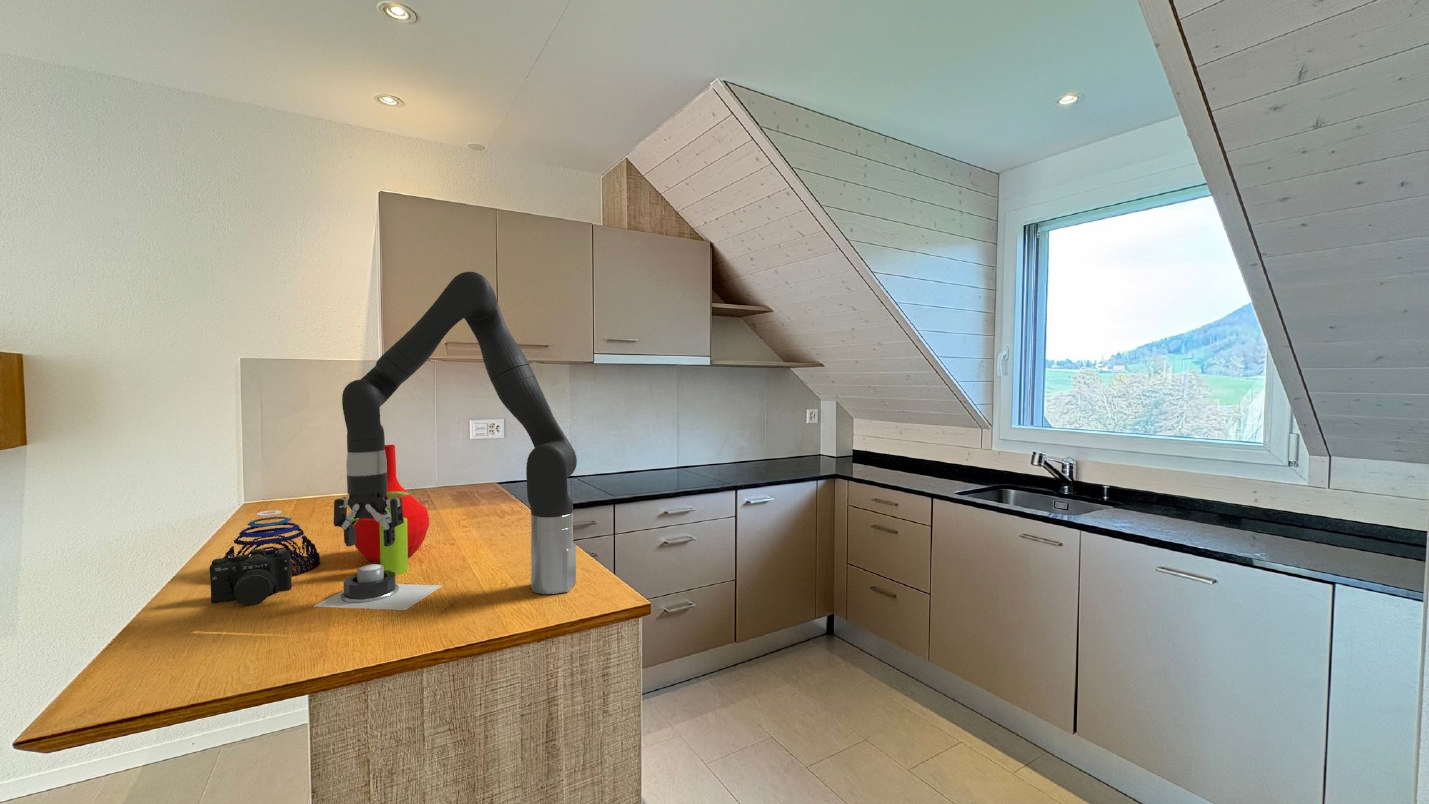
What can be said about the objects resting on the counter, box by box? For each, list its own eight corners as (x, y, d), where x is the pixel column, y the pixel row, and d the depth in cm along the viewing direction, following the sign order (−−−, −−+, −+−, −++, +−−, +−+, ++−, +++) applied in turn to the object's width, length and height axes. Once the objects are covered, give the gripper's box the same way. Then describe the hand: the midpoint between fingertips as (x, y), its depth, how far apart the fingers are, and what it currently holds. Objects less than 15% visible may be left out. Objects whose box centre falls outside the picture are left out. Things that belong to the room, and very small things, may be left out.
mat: (442, 587, 134) (442, 585, 134) (405, 611, 120) (405, 609, 120) (358, 584, 135) (358, 582, 135) (312, 608, 121) (312, 606, 121)
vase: (356, 573, 142) (353, 451, 141) (345, 555, 157) (343, 444, 155) (437, 559, 154) (435, 446, 152) (420, 543, 168) (419, 440, 167)
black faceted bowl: (409, 585, 134) (409, 570, 133) (378, 603, 123) (378, 587, 122) (363, 583, 134) (362, 568, 134) (328, 602, 123) (327, 585, 123)
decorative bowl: (217, 591, 130) (215, 527, 130) (217, 568, 146) (215, 511, 145) (324, 572, 143) (323, 514, 143) (313, 553, 159) (312, 500, 158)
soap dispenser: (399, 578, 139) (398, 495, 138) (374, 576, 140) (373, 493, 140) (417, 570, 145) (415, 490, 144) (392, 568, 146) (391, 489, 145)
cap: (388, 587, 131) (388, 563, 130) (374, 595, 126) (373, 571, 125) (367, 586, 131) (366, 563, 131) (352, 595, 126) (351, 570, 126)
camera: (200, 615, 117) (198, 566, 117) (214, 598, 127) (213, 552, 126) (285, 603, 124) (284, 556, 124) (293, 587, 133) (292, 543, 133)
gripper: (408, 468, 130) (411, 541, 131) (347, 469, 131) (350, 540, 132) (388, 474, 123) (390, 550, 123) (323, 474, 124) (326, 550, 124)
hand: (369, 545), depth 128 cm, fingers open, 8 cm apart
